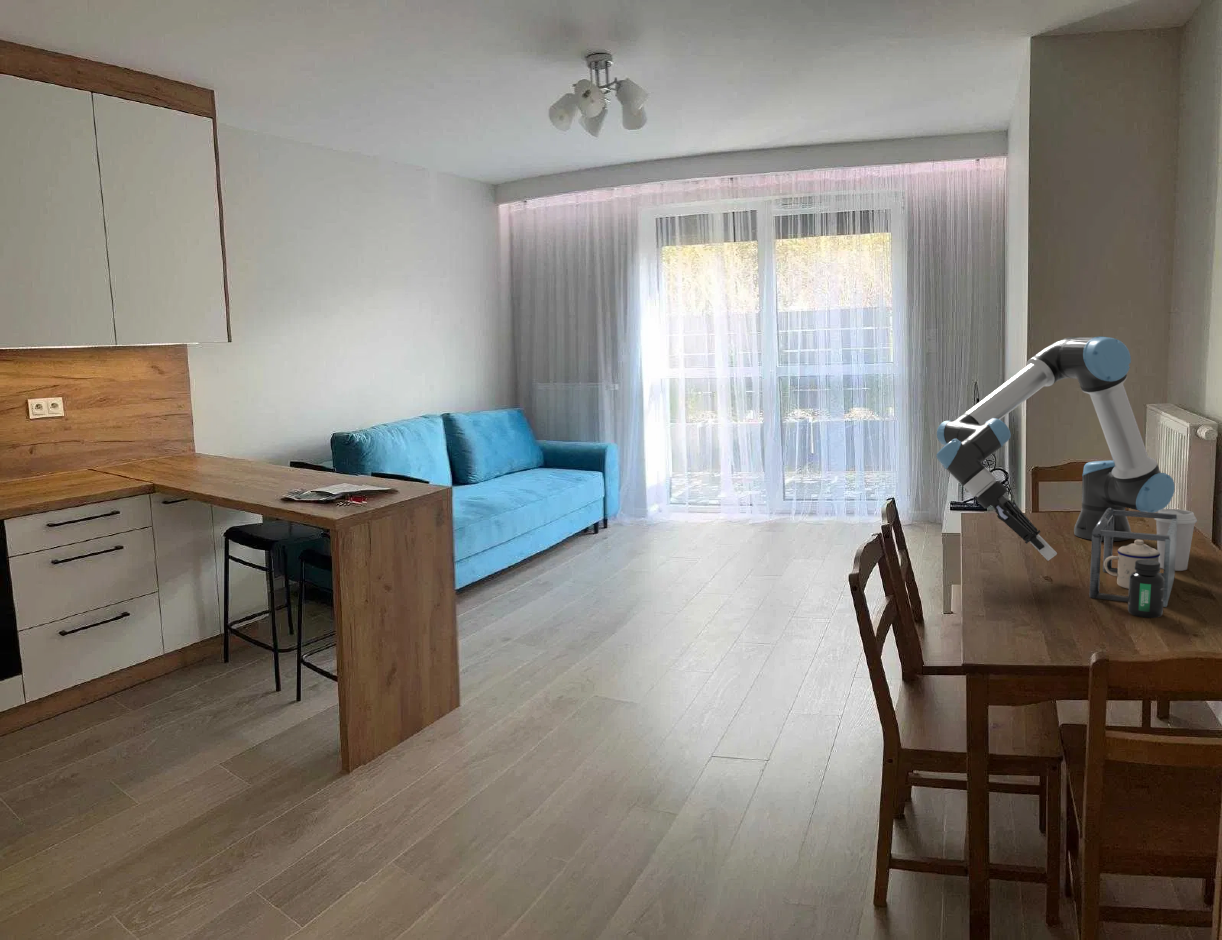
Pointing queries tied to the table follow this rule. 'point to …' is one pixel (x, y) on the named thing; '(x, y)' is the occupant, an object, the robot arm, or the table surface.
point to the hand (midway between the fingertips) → (1052, 557)
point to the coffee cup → (1183, 536)
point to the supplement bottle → (1146, 590)
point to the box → (1108, 533)
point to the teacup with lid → (1131, 560)
